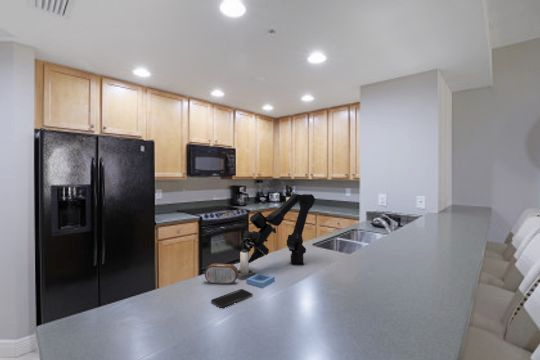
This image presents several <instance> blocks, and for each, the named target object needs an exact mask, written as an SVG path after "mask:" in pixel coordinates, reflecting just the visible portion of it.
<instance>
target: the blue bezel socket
mask: <svg viewBox="0 0 540 360" xmlns="http://www.w3.org/2000/svg"><path fill="white" fill-rule="evenodd" d="M275 278H276V277H275V276H272V275H268V274H264V273H260V272H259V273H256V275H254V276H252V277H250V278H247V279H245V280H246V281H245V282H246V284H247V285H250V286H253V287H258V288H262V289H263V288H265V287H267V286H269V285H271V284H272V283H274V282H275V280H276V279H275ZM261 280H262V281H261Z"/></svg>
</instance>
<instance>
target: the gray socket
mask: <svg viewBox="0 0 540 360" xmlns="http://www.w3.org/2000/svg"><path fill="white" fill-rule="evenodd" d="M256 274H257V273H256V272H255V271H254V270H252V269H250V268H249V273H248V274H244V275H241V274H240V269H238V278H237V279H239V280H240V281H243V280H244V281H245V280H246V279H247V278H250V277H252V276H254V275H256Z"/></svg>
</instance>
